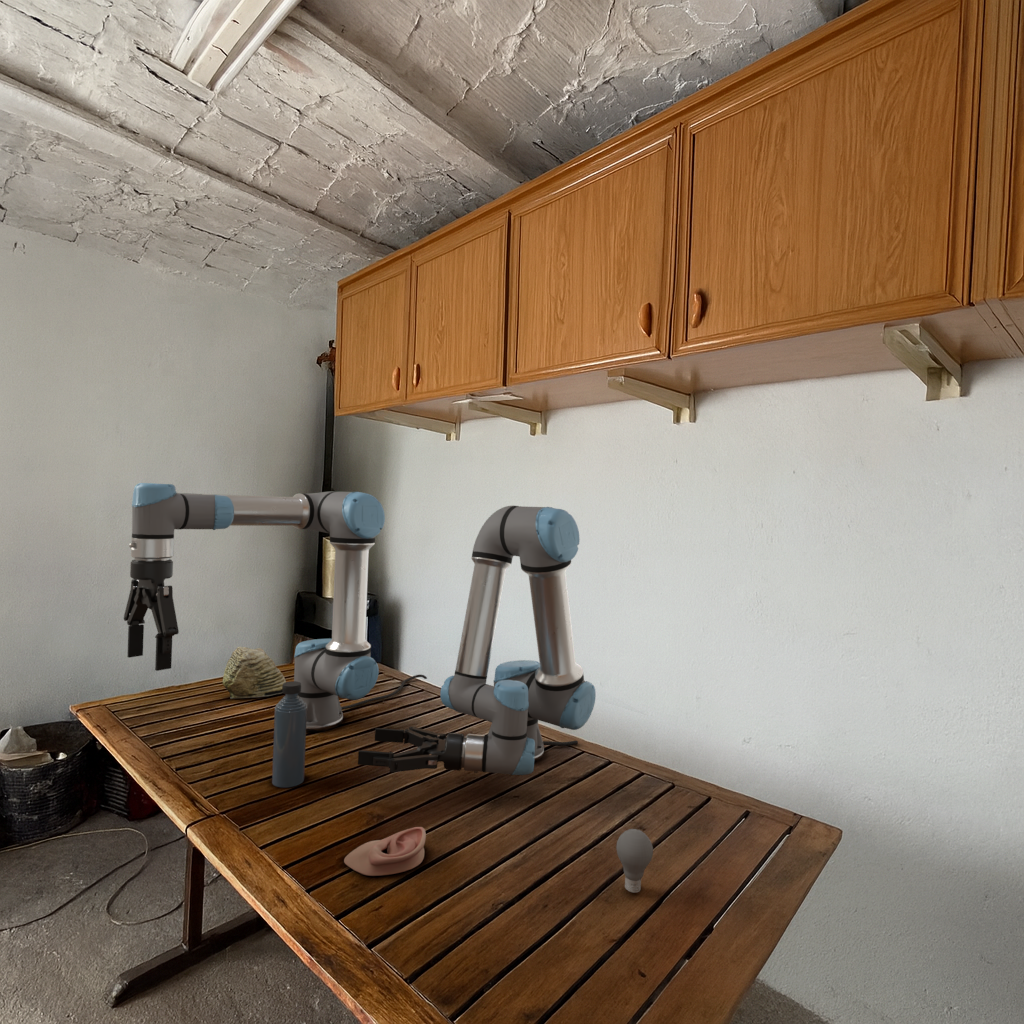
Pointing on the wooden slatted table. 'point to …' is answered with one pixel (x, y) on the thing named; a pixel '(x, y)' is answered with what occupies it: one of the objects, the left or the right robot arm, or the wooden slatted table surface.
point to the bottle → (289, 741)
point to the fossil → (252, 674)
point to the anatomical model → (389, 853)
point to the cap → (291, 687)
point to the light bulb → (634, 857)
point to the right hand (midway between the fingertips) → (367, 745)
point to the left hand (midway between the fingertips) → (148, 662)
